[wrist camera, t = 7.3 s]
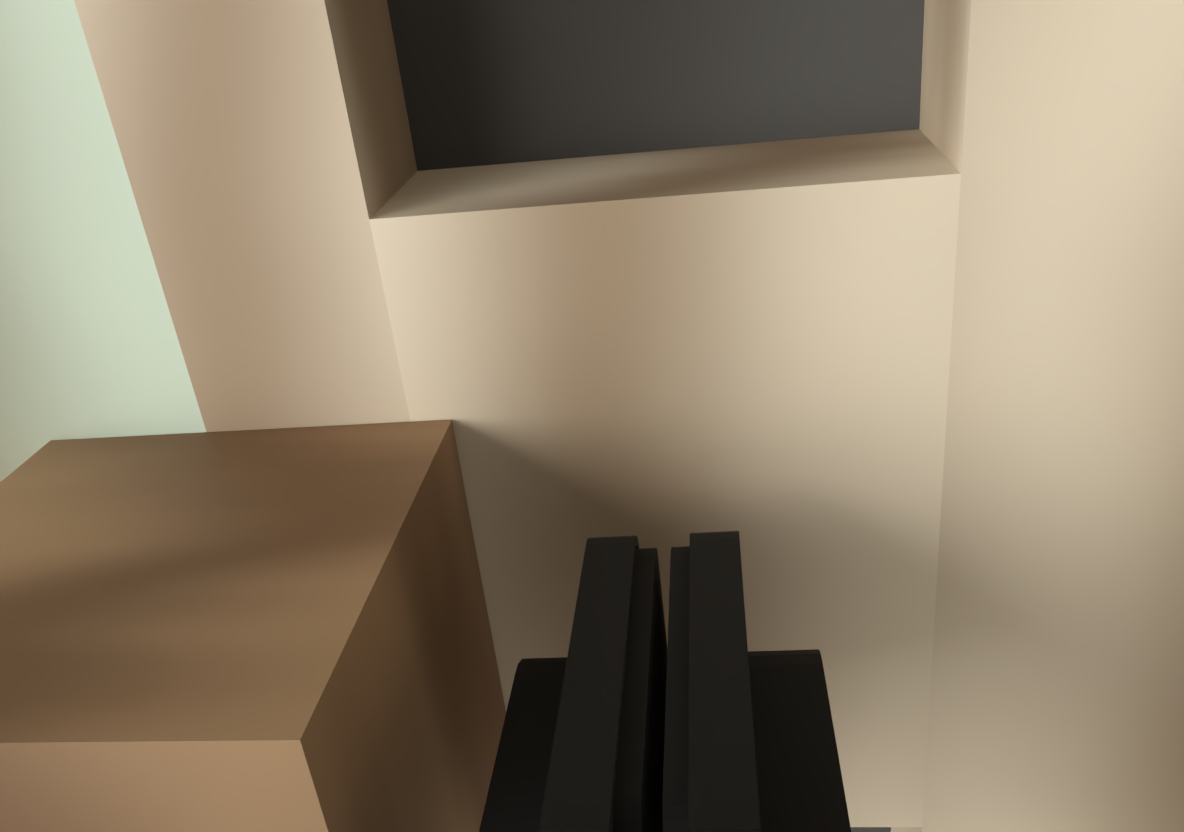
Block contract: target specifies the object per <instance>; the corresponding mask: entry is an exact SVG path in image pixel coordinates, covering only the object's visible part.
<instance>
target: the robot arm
mask: <svg viewBox="0 0 1184 832" xmlns="http://www.w3.org/2000/svg"><path fill="white" fill-rule="evenodd" d="M479 832H851V827H850V821H849V815H848V809H847V803H846V798H845V792H844V786H843V780H842V774H841V768H840V762H839V756H838V750H837V744H836V738H835V733H834V727H833V721H832V715H831V709H830V703H829V697H828V691H827V685H826V679H825V674H824V668H823V662H822V657H821V653H820V651H819V649H813V650H781V651H749V652H748V647H747V633H746V619H745V606H744V592H743V578H742V565H741V551H740V537H739V531H723V532H702V533H690V546H683V547H671V557H670V587H669V617H668V646H667V639H666V629H665V619H664V609H663V599H662V589H661V580H660V570H659V560H658V552H657V548H640V549H639V542H638V538H637V536H616V537H595V538H588V539H587V542H586V547H585V553H584V559H583V565H582V571H581V577H580V583H579V589H578V595H577V601H576V607H575V614H574V620H573V626H572V632H571V638H570V644H569V650H568V656H567V657H558V658H526V659H521V661H520V662H519V663H518V666H517V669H516V672H515V676H514V681H513V685H512V689H511V694H510V698H509V702H508V707H507V711H506V716H505V720H504V724H503V729H502V733H501V737H500V742H499V746H498V751H497V755H496V759H495V764H494V768H493V772H492V777H491V781H490V786H489V790H488V794H487V799H486V803H485V807H484V812H483V816H482V821H481V825H480V829H479Z"/></svg>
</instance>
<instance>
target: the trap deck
mask: <svg viewBox="0 0 1184 832" xmlns="http://www.w3.org/2000/svg"><path fill="white" fill-rule="evenodd" d="M436 420H452V424H453V430H454V435H455V440H456V446H457V451H458V456H459V462H460V467H461V473H462V478H463V483H464V489H465V494H466V499H467V505H468V510H469V516H470V521H471V526H472V532H473V537H474V542H475V548H476V553H477V559H478V564H479V569H480V575H481V580H482V585H483V591H484V596H485V602H486V607H487V612H488V618H489V623H490V628H491V634H492V639H493V645H494V650H495V655H496V661H497V666H498V671H499V677H500V682H501V688H502V693H503V698H504V704H505V709H506V711H507V707H508V702H509V698H510V694H511V689H512V685H513V681H514V676H515V672H516V669H517V666H518V663H519V662H520V661H521V659H526V658H558V657H567V656H568V650H569V644H570V638H571V632H572V626H573V620H574V614H575V607H576V601H577V595H578V589H579V583H580V577H581V571H582V565H583V559H584V553H585V547H586V542H587V539H588V538H595V537H616V536H637V538H638V542H639V549H640V548H657V552H658V560H659V570H660V580H661V589H662V599H663V609H664V619H665V629H666V639H667V646H668V617H669V587H670V557H671V547H683V546H690V533H702V532H723V531H739V537H740V551H741V565H742V578H743V592H744V606H745V619H746V633H747V647H748V652H749V651H781V650H813V649H819V651H820V653H821V657H822V662H823V668H824V674H825V679H826V685H827V691H828V697H829V703H830V709H831V715H832V721H833V727H834V733H835V738H836V744H837V750H838V756H839V762H840V768H841V774H842V780H843V786H844V792H845V798H846V803H847V809H848V815H849V821H850V827H851V832H1184V0H0V482H1V481H3V480H4V479H5V478H6V477H7V476H9V475H10V474H11V473H12V472H13V471H15V470H16V469H17V468H18V467H19V466H20V465H22V464H23V463H24V462H25V461H26V460H28V459H29V458H30V457H31V456H32V455H34V454H35V453H36V452H37V451H38V450H40V449H41V448H42V447H43V446H44V445H45V444H47V443H48V442H49V441H50V440H67V439H87V438H106V437H126V436H145V435H165V434H184V433H203V432H223V431H242V430H262V429H281V428H300V427H320V426H339V425H359V424H378V423H397V422H417V421H436Z"/></svg>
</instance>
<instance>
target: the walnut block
mask: <svg viewBox="0 0 1184 832" xmlns="http://www.w3.org/2000/svg"><path fill="white" fill-rule="evenodd" d="M505 716H506V709H505V704H504V698H503V693H502V688H501V682H500V677H499V671H498V666H497V661H496V655H495V650H494V645H493V639H492V634H491V628H490V623H489V618H488V612H487V607H486V602H485V596H484V591H483V585H482V580H481V575H480V569H479V564H478V559H477V553H476V548H475V542H474V537H473V532H472V526H471V521H470V516H469V510H468V505H467V499H466V494H465V489H464V483H463V478H462V473H461V467H460V462H459V456H458V451H457V446H456V440H455V435H454V430H453V424H452V420H436V421H417V422H397V423H378V424H359V425H339V426H320V427H300V428H281V429H262V430H242V431H223V432H203V433H184V434H165V435H145V436H126V437H106V438H87V439H67V440H50V441H49V442H48V443H47V444H45V445H44V446H43V447H42V448H41V449H40V450H38V451H37V452H36V453H35V454H34V455H32V456H31V457H30V458H29V459H28V460H26V461H25V462H24V463H23V464H22V465H20V466H19V467H18V468H17V469H16V470H15V471H13V472H12V473H11V474H10V475H9V476H7V477H6V478H5V479H4V480H3V481H1V482H0V832H479V829H480V825H481V821H482V816H483V812H484V807H485V803H486V799H487V794H488V790H489V786H490V781H491V777H492V772H493V768H494V764H495V759H496V755H497V751H498V746H499V742H500V737H501V733H502V729H503V724H504V720H505Z"/></svg>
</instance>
